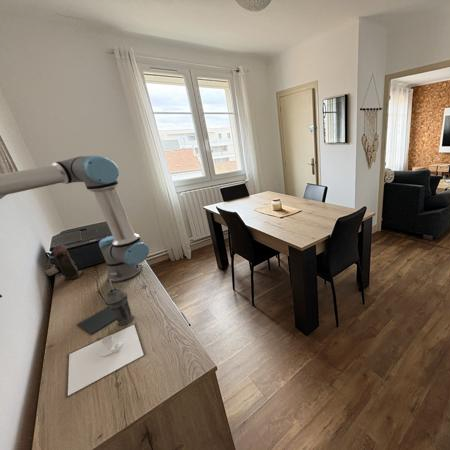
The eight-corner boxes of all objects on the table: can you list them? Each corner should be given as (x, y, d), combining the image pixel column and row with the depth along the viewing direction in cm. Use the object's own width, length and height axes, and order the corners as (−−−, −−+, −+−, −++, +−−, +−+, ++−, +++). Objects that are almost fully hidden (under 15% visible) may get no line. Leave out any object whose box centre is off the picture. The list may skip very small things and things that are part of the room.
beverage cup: (114, 330, 95) (95, 288, 88) (115, 319, 101) (98, 279, 94) (135, 322, 99) (119, 281, 91) (136, 312, 104) (120, 273, 97)
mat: (109, 306, 109) (109, 306, 109) (124, 314, 104) (124, 313, 104) (77, 324, 99) (77, 324, 99) (91, 334, 94) (91, 333, 94)
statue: (82, 272, 139) (68, 241, 132) (79, 278, 134) (64, 246, 126) (67, 276, 136) (52, 245, 129) (63, 282, 131) (47, 250, 123)
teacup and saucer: (126, 348, 86) (122, 340, 85) (98, 362, 82) (93, 353, 80) (122, 335, 93) (119, 326, 91) (96, 347, 88) (92, 338, 86)
